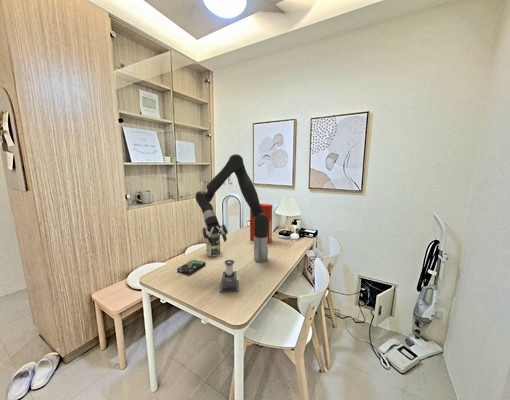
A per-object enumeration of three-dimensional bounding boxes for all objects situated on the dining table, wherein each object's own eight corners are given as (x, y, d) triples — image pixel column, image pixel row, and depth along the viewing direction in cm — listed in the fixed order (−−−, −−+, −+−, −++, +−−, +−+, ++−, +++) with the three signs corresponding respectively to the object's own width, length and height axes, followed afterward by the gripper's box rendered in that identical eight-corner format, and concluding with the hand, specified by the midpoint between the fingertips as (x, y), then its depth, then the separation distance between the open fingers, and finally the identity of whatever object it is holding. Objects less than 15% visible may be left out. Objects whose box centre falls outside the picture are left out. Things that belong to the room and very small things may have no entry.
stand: (238, 281, 120) (238, 269, 119) (238, 291, 110) (238, 279, 109) (221, 281, 119) (220, 270, 118) (219, 292, 110) (219, 280, 108)
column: (234, 281, 117) (234, 259, 115) (234, 287, 112) (233, 263, 110) (225, 282, 117) (224, 259, 115) (224, 287, 112) (224, 264, 110)
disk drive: (189, 276, 126) (205, 265, 139) (189, 272, 125) (205, 261, 138) (177, 272, 130) (193, 262, 143) (176, 268, 130) (193, 258, 143)
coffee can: (222, 251, 161) (222, 233, 159) (217, 257, 151) (216, 238, 149) (209, 250, 163) (209, 232, 161) (204, 255, 153) (203, 237, 151)
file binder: (268, 243, 177) (269, 206, 172) (250, 240, 184) (250, 204, 178) (271, 240, 185) (272, 204, 179) (253, 237, 191) (253, 202, 186)
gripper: (200, 217, 123) (208, 241, 115) (223, 214, 131) (231, 237, 123) (197, 223, 128) (205, 247, 121) (219, 220, 136) (227, 242, 128)
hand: (218, 242), depth 122 cm, fingers open, 8 cm apart
